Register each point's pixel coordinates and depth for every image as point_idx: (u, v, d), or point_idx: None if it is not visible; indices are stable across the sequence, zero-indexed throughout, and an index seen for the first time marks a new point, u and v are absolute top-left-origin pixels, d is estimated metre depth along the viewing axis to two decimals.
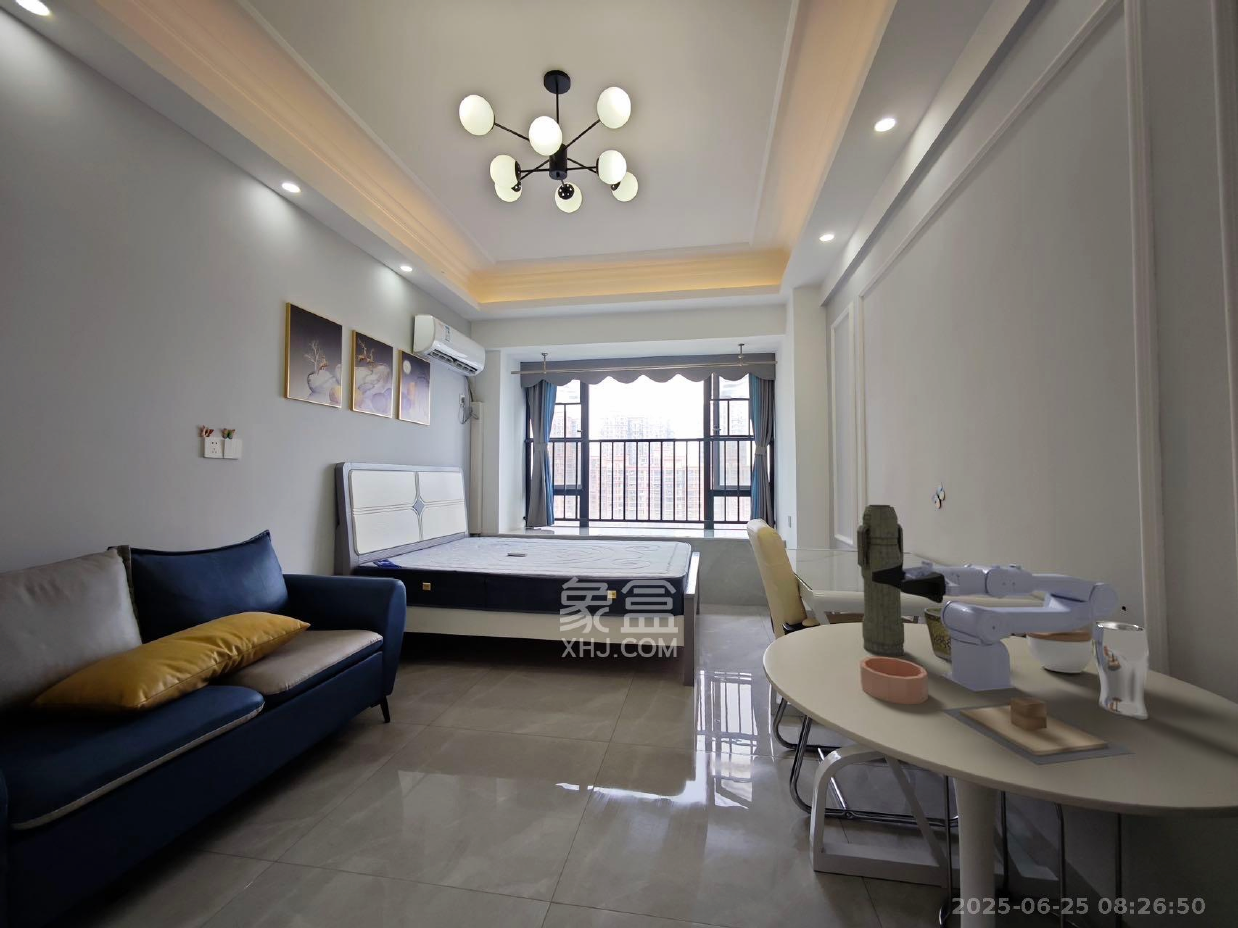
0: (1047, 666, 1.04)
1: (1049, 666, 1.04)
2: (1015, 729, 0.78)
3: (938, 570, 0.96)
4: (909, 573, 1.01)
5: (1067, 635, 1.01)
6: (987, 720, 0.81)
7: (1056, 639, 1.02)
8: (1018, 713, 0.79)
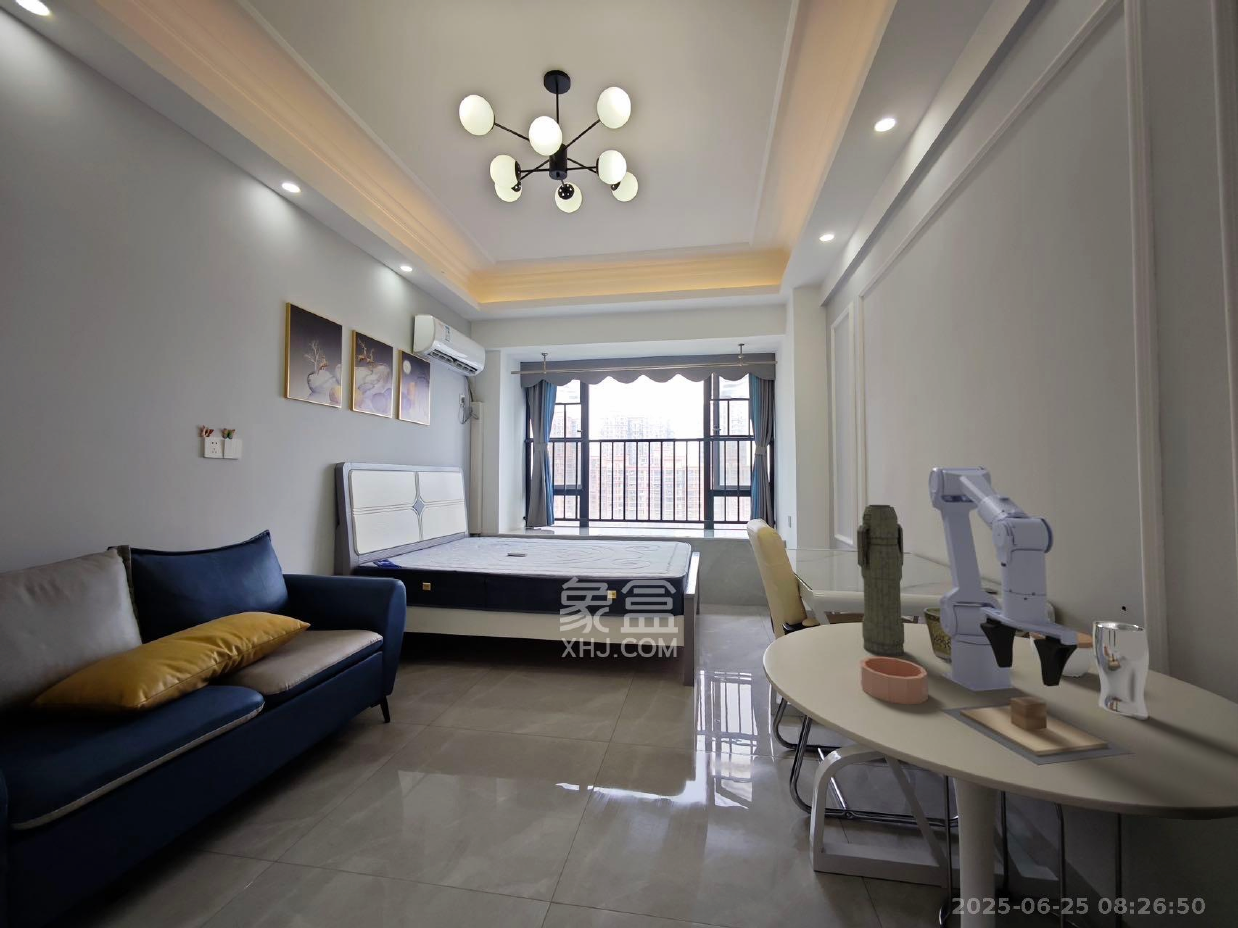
0: None
1: None
2: (1015, 729, 0.78)
3: None
4: None
5: None
6: (987, 720, 0.81)
7: None
8: (1018, 713, 0.79)
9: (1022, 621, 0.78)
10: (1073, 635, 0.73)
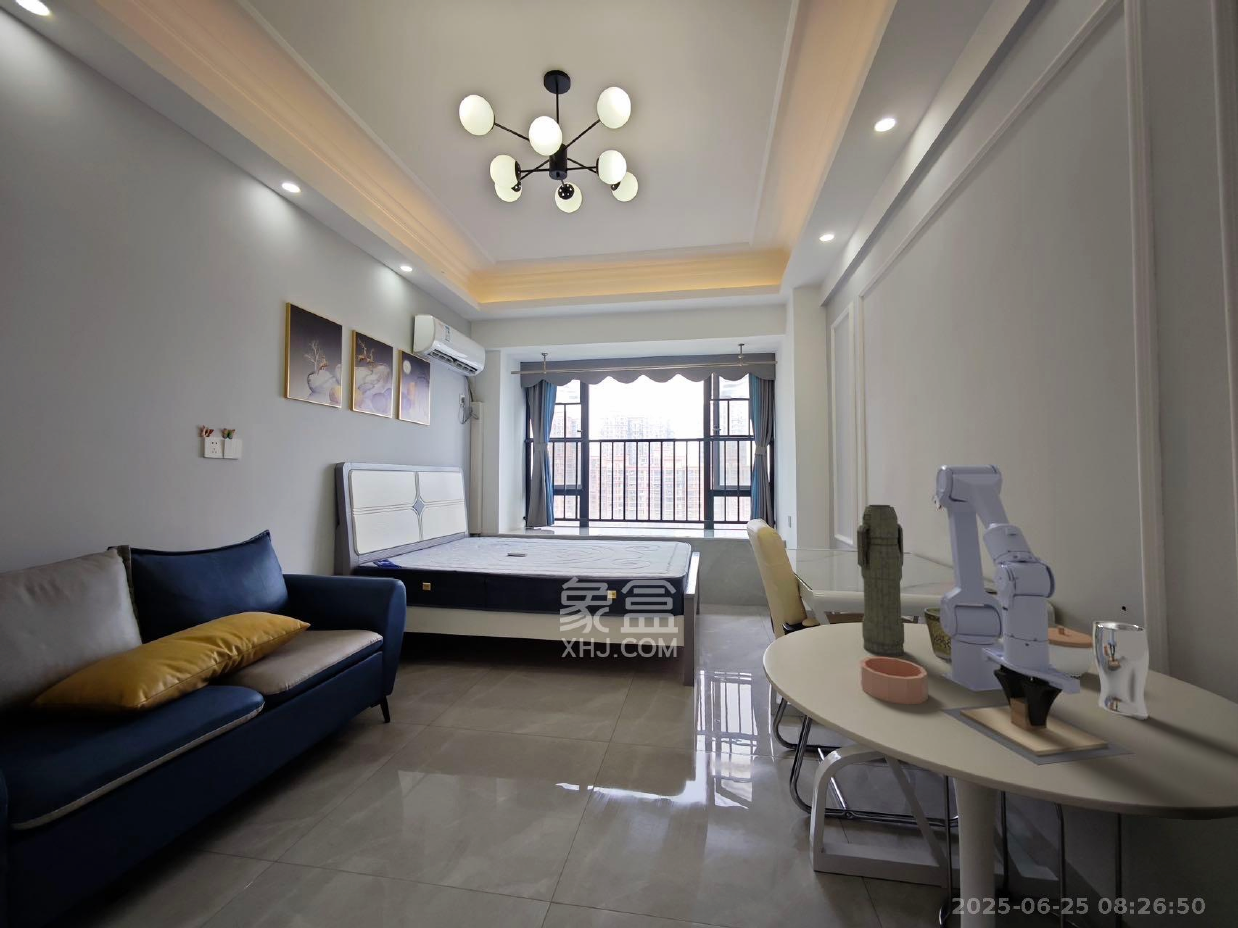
0: None
1: None
2: (1015, 729, 0.78)
3: None
4: None
5: (1073, 641, 1.00)
6: (987, 720, 0.81)
7: (1061, 644, 1.01)
8: (1018, 713, 0.79)
9: (1024, 667, 0.78)
10: (1075, 684, 0.72)
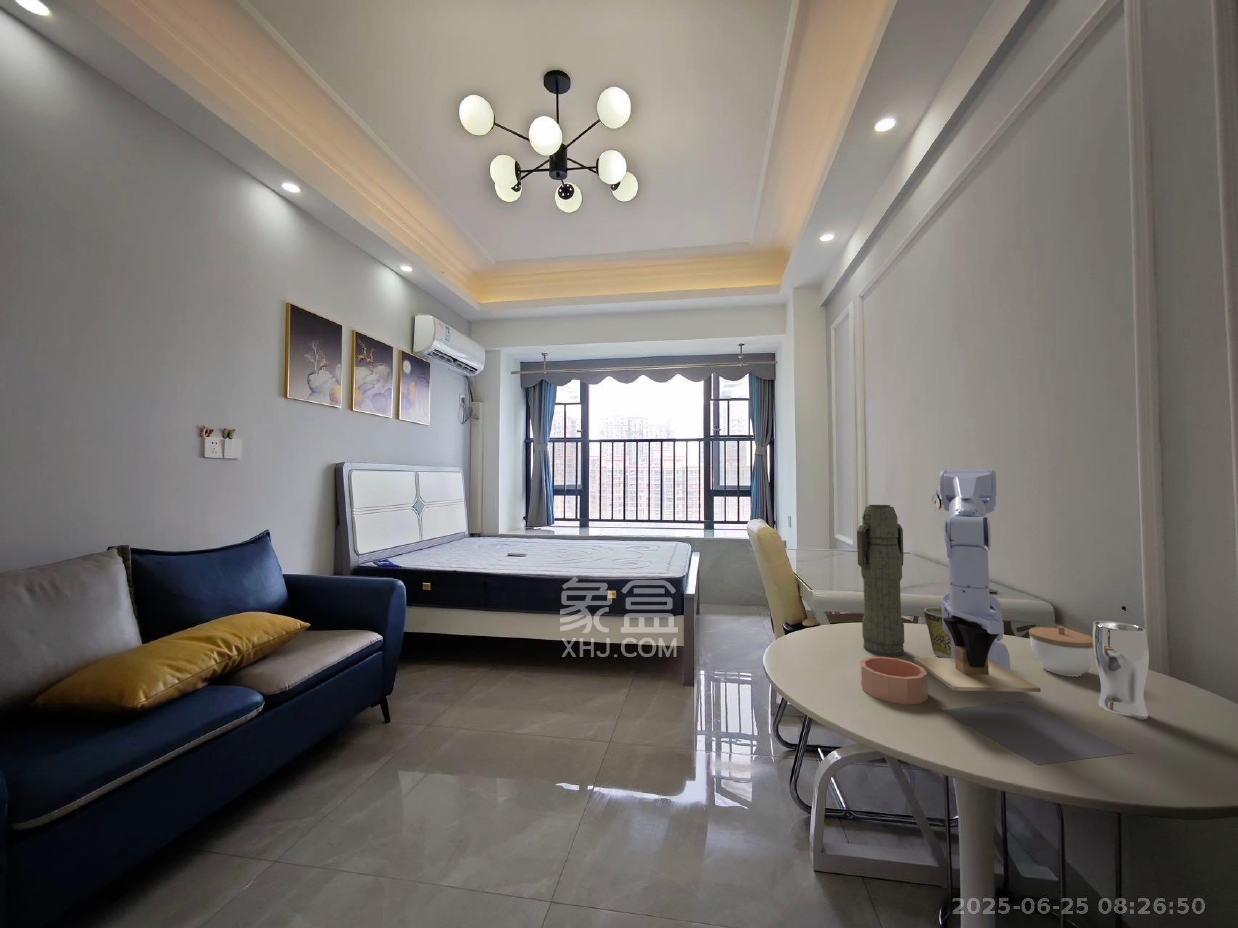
0: (1048, 668, 1.04)
1: (1051, 669, 1.03)
2: (954, 672, 0.85)
3: None
4: None
5: (1073, 641, 1.00)
6: (933, 665, 0.88)
7: (1062, 644, 1.01)
8: (959, 659, 0.85)
9: (960, 611, 0.84)
10: (998, 625, 0.78)
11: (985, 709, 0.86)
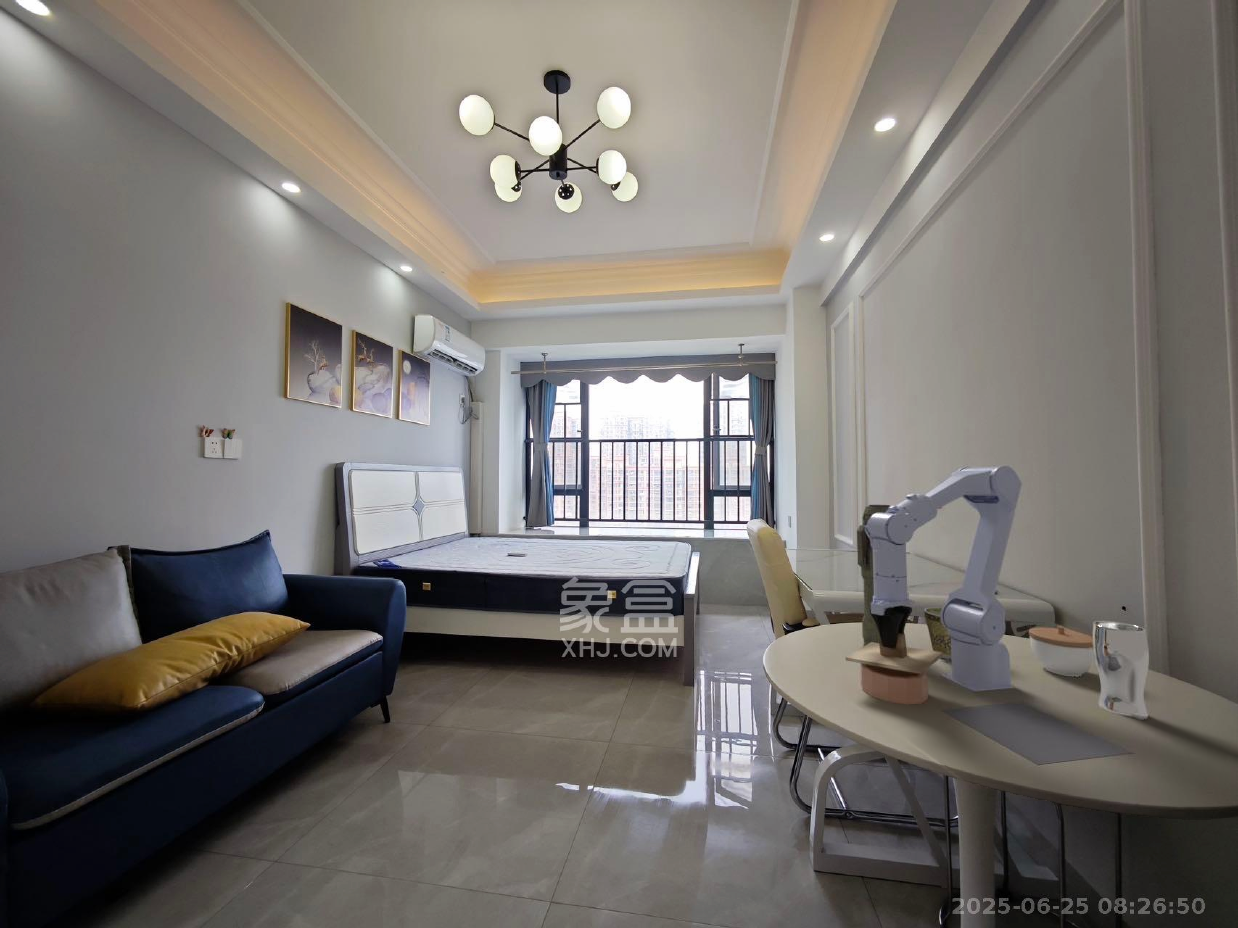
0: (1048, 668, 1.04)
1: (1051, 669, 1.03)
2: (874, 652, 0.96)
3: None
4: None
5: (1073, 641, 1.00)
6: (871, 647, 1.00)
7: (1061, 644, 1.01)
8: None
9: (874, 596, 0.95)
10: (877, 607, 0.90)
11: (985, 709, 0.86)
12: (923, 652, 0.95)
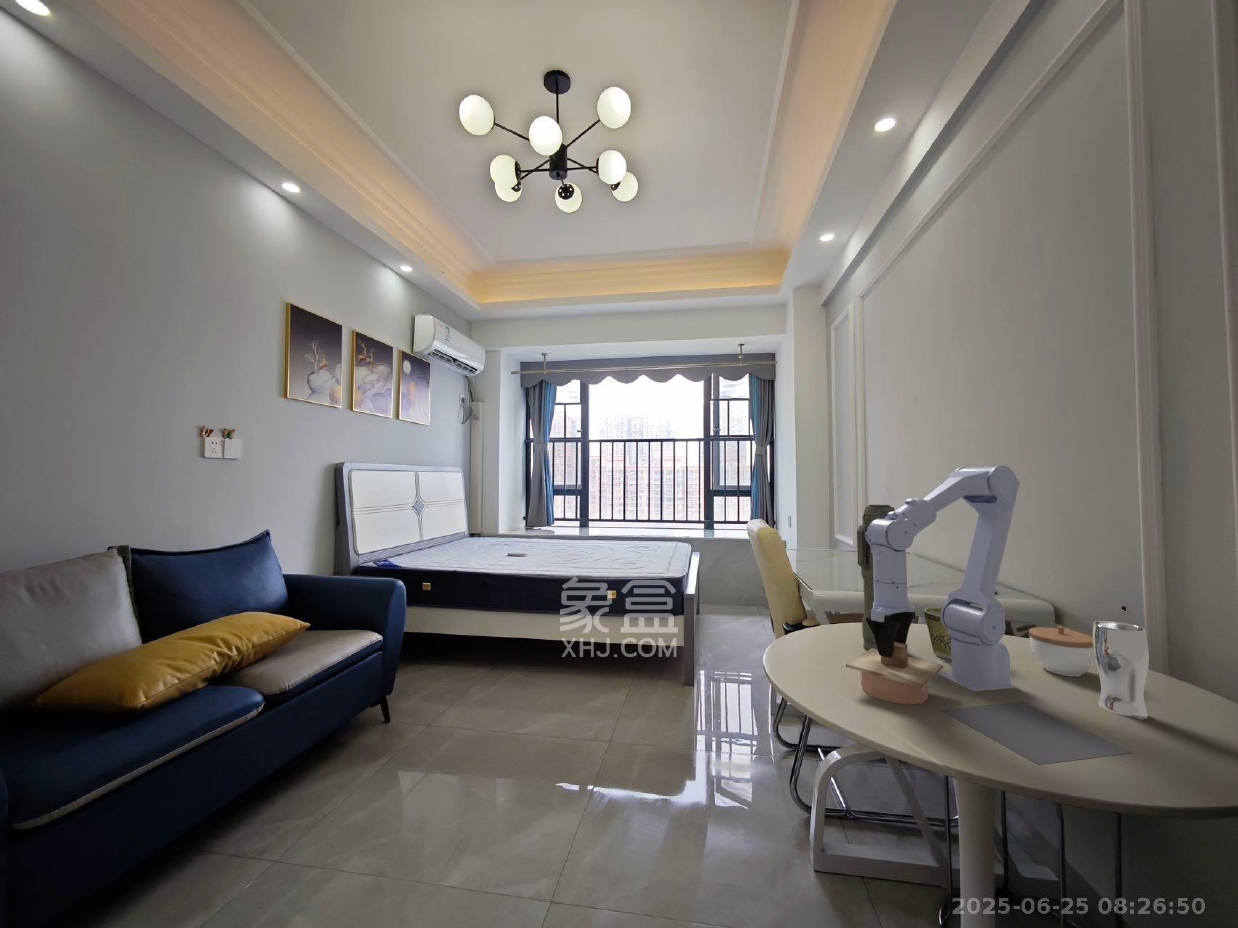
0: (1048, 668, 1.04)
1: (1051, 668, 1.03)
2: (875, 660, 0.96)
3: None
4: None
5: (1073, 640, 1.00)
6: (872, 654, 1.00)
7: (1061, 644, 1.01)
8: None
9: (874, 602, 0.95)
10: (877, 614, 0.90)
11: (985, 709, 0.86)
12: (924, 663, 0.95)
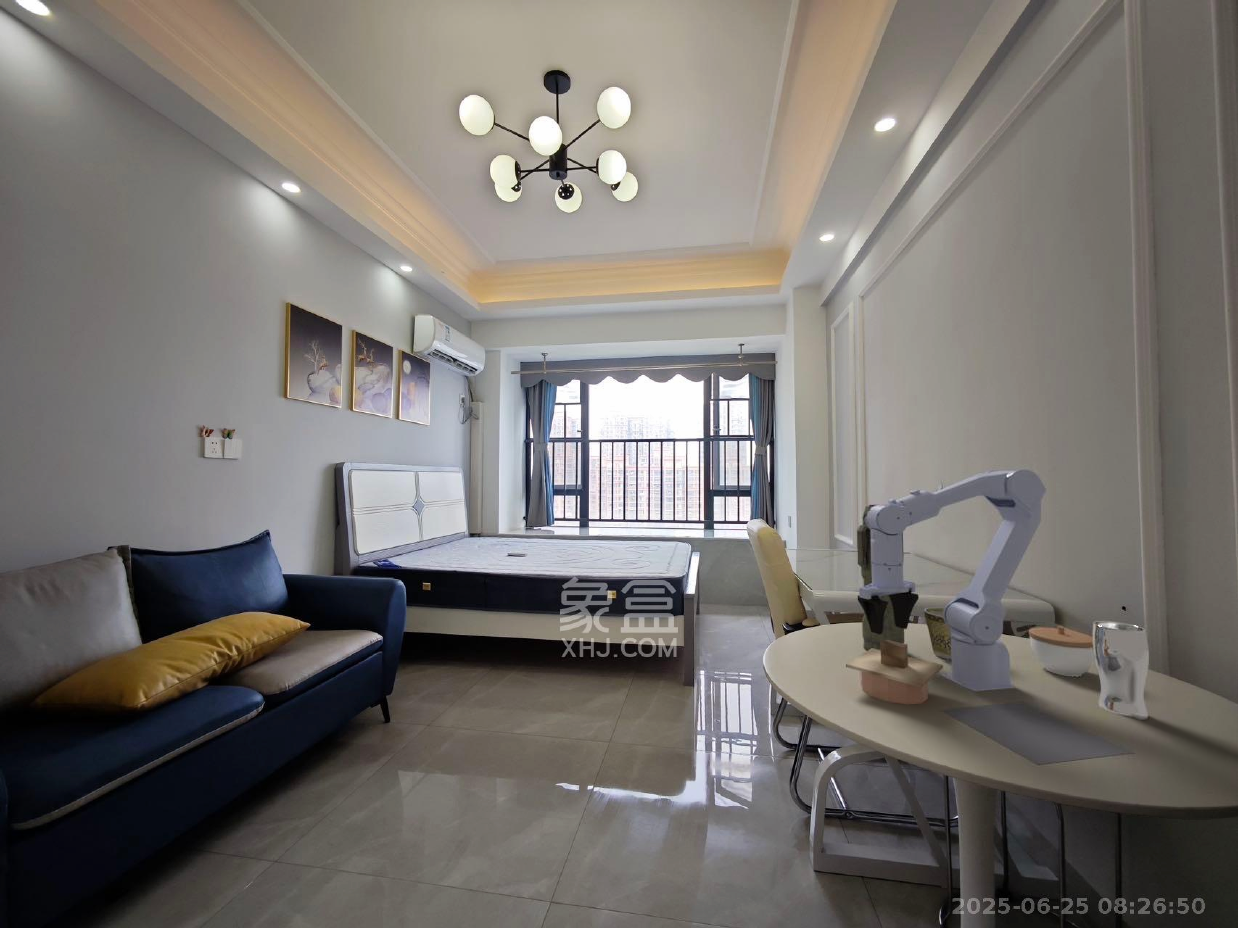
0: (1048, 668, 1.04)
1: (1051, 669, 1.03)
2: (875, 660, 0.96)
3: (903, 581, 0.99)
4: None
5: (1073, 641, 1.00)
6: (872, 654, 1.00)
7: (1061, 644, 1.01)
8: None
9: (871, 583, 1.02)
10: (864, 591, 0.97)
11: (985, 709, 0.86)
12: (924, 663, 0.95)
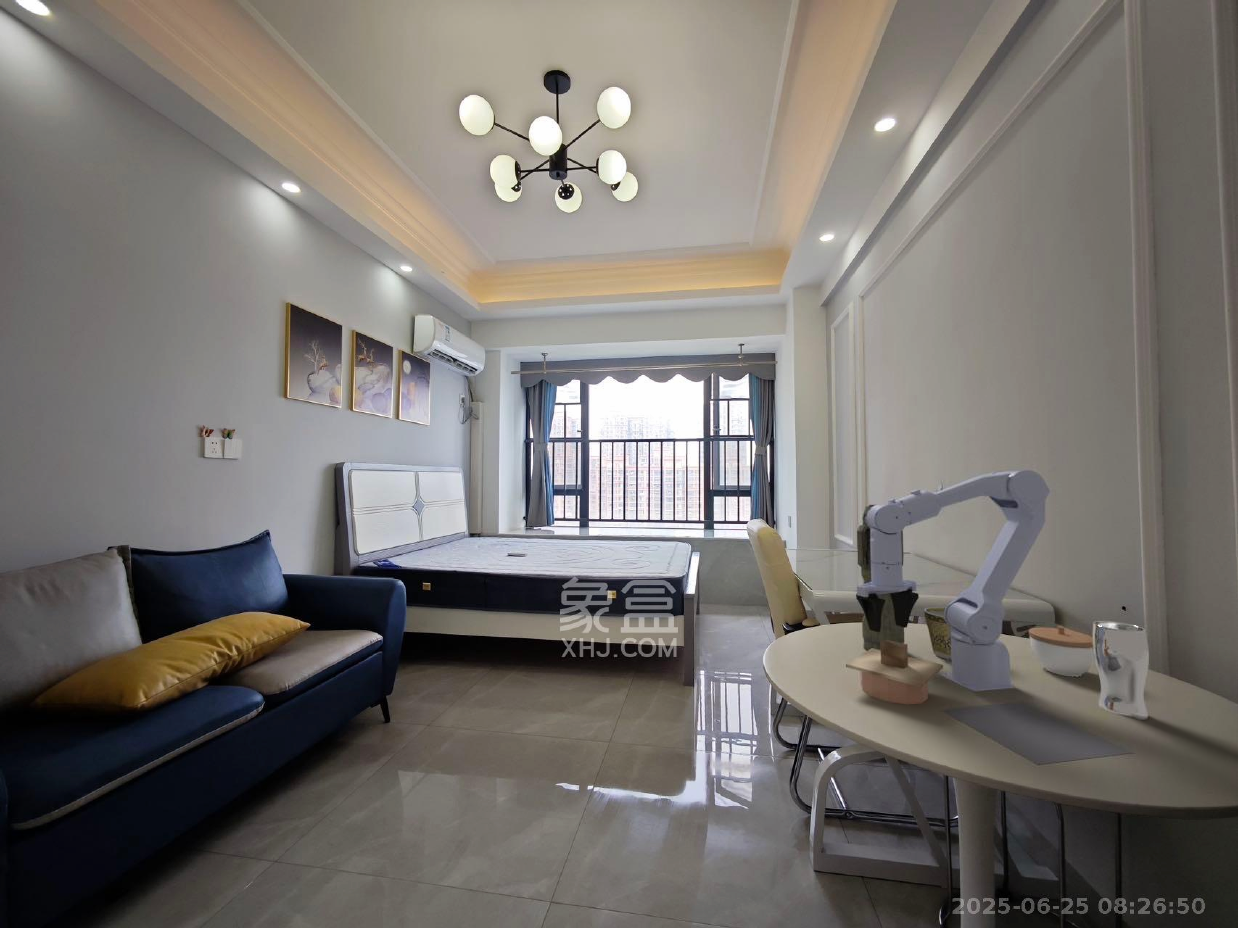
0: (1048, 668, 1.04)
1: (1051, 669, 1.03)
2: (875, 660, 0.96)
3: (902, 580, 1.00)
4: None
5: (1073, 641, 1.00)
6: (872, 654, 1.00)
7: (1061, 644, 1.01)
8: None
9: (871, 581, 1.03)
10: (861, 589, 0.99)
11: (985, 709, 0.86)
12: (924, 663, 0.95)
